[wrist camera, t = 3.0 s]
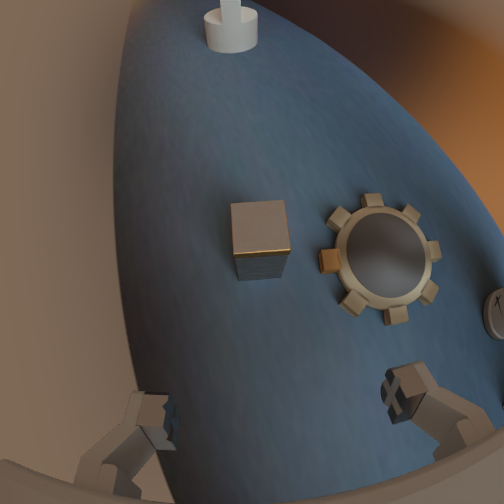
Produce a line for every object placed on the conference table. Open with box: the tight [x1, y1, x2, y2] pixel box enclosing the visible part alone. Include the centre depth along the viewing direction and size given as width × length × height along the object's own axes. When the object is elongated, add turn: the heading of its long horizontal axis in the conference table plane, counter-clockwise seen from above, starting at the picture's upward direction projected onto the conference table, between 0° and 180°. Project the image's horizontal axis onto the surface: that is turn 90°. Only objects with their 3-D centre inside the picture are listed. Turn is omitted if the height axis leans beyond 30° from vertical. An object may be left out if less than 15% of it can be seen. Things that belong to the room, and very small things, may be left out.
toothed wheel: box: [318, 193, 442, 326], centre depth 28 cm, size 14×14×2 cm
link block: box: [231, 200, 291, 281], centre depth 26 cm, size 4×4×8 cm
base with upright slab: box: [204, 0, 257, 53], centre depth 38 cm, size 9×9×12 cm
